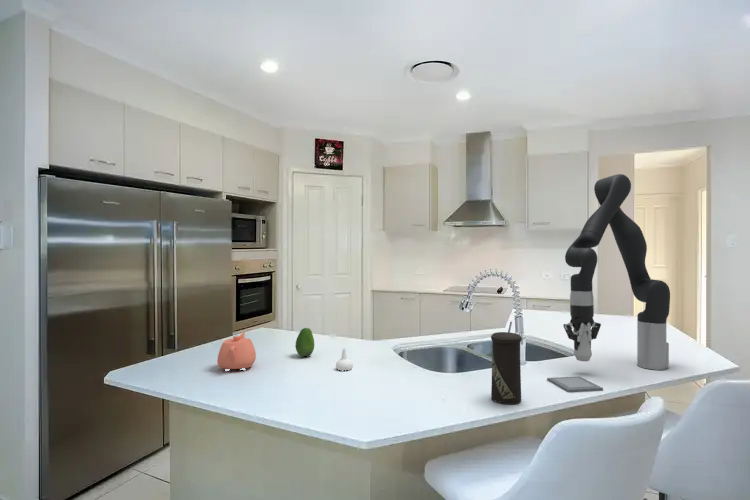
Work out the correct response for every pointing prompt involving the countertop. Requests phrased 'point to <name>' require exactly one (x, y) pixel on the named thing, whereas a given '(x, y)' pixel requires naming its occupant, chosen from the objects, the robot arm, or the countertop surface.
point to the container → (506, 368)
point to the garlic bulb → (344, 362)
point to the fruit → (305, 342)
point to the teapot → (236, 353)
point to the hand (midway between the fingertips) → (582, 351)
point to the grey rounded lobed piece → (583, 347)
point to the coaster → (574, 384)
